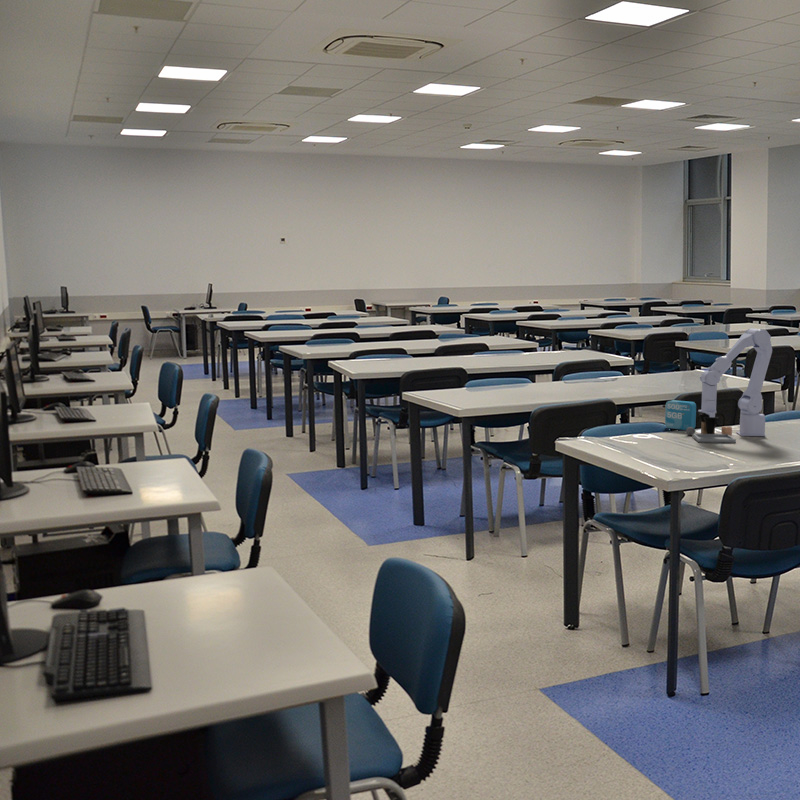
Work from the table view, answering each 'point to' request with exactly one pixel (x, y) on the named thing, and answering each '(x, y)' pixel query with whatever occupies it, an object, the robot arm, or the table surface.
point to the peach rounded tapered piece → (726, 430)
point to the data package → (680, 414)
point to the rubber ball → (690, 431)
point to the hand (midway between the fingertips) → (707, 432)
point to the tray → (714, 438)
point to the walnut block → (703, 428)
